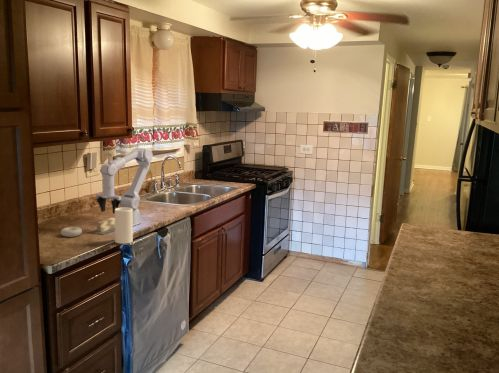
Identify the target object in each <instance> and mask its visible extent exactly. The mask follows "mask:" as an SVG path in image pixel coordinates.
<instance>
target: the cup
mask: <svg viewBox="0 0 499 373" xmlns="http://www.w3.org/2000/svg"><path fill="white" fill-rule="evenodd" d="M114 217H115V231H114V240H115V241H114V243H116V244H130V243H132V242H134V241H133V238H134V237H133V236H134V233H133V232H134V228H133V227H134V226H133V209H132V208H127V207H118V208H116V209H115V213H114Z"/></svg>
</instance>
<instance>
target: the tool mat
mask: <svg viewBox="0 0 499 373" xmlns="http://www.w3.org/2000/svg"><path fill="white" fill-rule="evenodd" d="M88 233H89V234H95V235H102V236H104V235H107V234H110V233H115V228H112V229H109V230H106V231H103V232H97V228H96V229H93V230H90V231H89V232H88Z"/></svg>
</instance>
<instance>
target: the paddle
mask: <svg viewBox="0 0 499 373" xmlns="http://www.w3.org/2000/svg"><path fill="white" fill-rule="evenodd" d="M112 228H115V216H114V217H113V216H112V217H110V218H107V219H103V220H99V221H97V222H96V229H97V232H103V231H106V230H109V229H112Z"/></svg>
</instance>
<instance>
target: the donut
mask: <svg viewBox="0 0 499 373" xmlns="http://www.w3.org/2000/svg"><path fill="white" fill-rule="evenodd" d="M82 233H83V229H82V228H81V227H78V226H67V227H64V228H62V229H61V230H60V235H61V236H62V237H67V238H72V237H78V236H80V235H81V234H82Z"/></svg>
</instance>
